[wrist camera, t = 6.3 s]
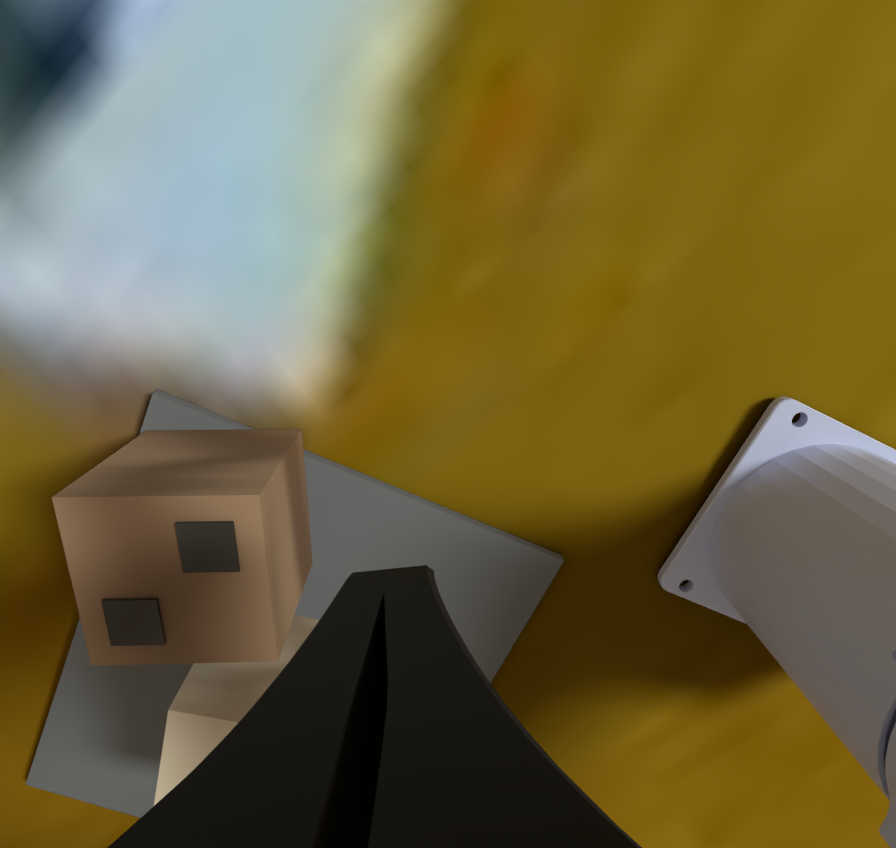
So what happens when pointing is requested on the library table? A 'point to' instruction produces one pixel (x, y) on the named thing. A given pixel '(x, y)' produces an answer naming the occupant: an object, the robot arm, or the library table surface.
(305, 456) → the felt mat
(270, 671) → the plain block
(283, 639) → the pip block two
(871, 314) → the library table surface
